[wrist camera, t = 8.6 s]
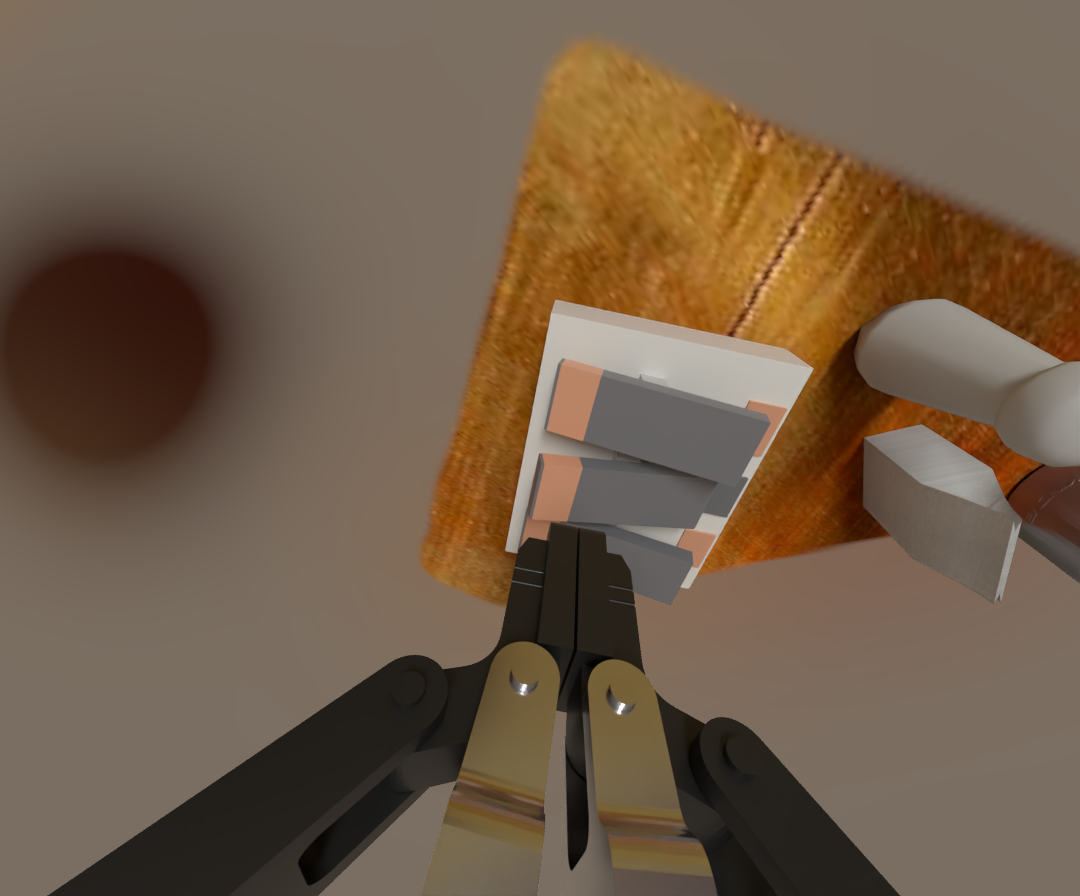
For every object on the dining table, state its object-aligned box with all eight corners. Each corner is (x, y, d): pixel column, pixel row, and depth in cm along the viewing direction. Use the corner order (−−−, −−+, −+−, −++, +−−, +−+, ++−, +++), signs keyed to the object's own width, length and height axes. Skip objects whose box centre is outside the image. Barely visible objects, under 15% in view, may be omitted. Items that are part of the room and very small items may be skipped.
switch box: (785, 348, 27) (825, 376, 23) (679, 554, 38) (692, 602, 33) (555, 299, 27) (549, 317, 23) (512, 519, 38) (502, 563, 33)
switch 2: (711, 469, 27) (719, 480, 26) (687, 517, 30) (694, 529, 29) (539, 452, 25) (541, 464, 24) (527, 506, 27) (528, 519, 26)
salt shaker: (935, 366, 27) (1179, 475, 16) (839, 390, 29) (1002, 505, 17) (945, 278, 24) (1247, 334, 13) (840, 308, 26) (1032, 383, 15)
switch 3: (692, 551, 28) (693, 563, 27) (670, 592, 31) (670, 605, 30) (531, 498, 30) (526, 508, 29) (522, 541, 32) (517, 551, 31)
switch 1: (766, 413, 23) (771, 422, 22) (732, 476, 25) (735, 487, 24) (562, 357, 24) (557, 363, 23) (548, 421, 27) (543, 429, 26)
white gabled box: (862, 505, 33) (959, 608, 25) (863, 437, 30) (974, 527, 22) (915, 495, 32) (1034, 598, 24) (921, 424, 29) (1060, 512, 21)
